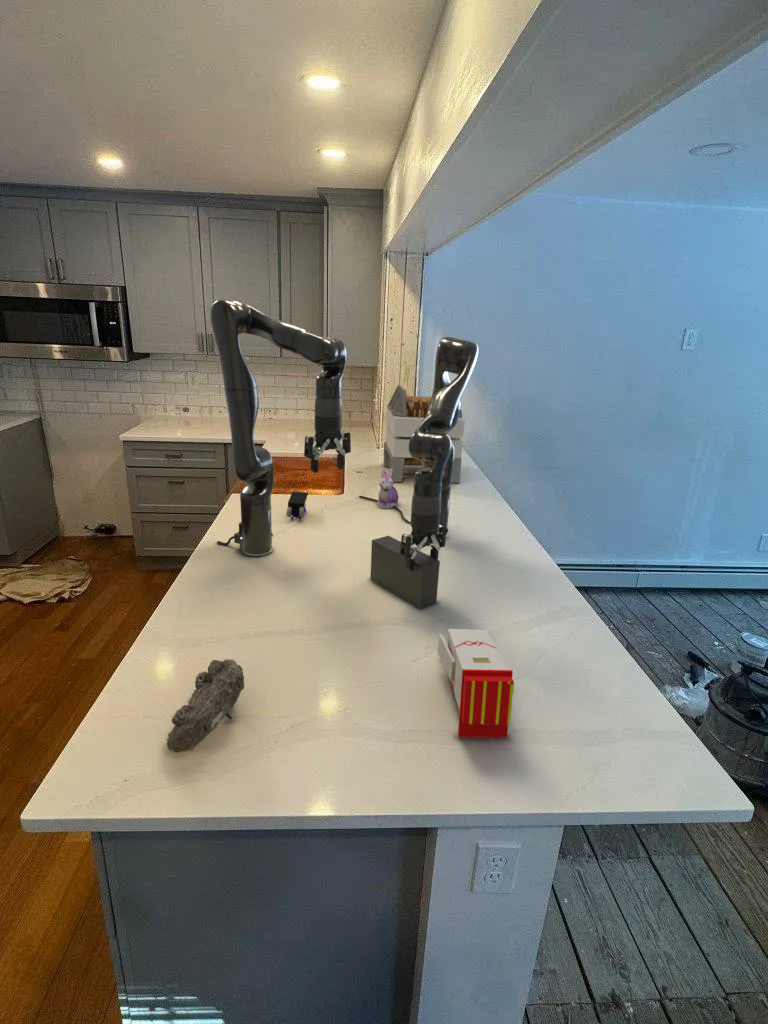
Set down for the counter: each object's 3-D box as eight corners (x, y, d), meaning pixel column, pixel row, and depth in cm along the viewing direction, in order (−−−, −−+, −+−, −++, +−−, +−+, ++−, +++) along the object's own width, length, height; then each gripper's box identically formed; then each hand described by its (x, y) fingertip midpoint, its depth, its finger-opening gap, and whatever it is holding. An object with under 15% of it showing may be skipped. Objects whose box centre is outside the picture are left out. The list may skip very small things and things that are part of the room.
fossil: (192, 660, 117) (244, 628, 112) (224, 691, 120) (276, 661, 115) (142, 746, 98) (202, 712, 93) (182, 779, 101) (242, 748, 96)
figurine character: (304, 526, 206) (308, 508, 220) (304, 507, 203) (308, 490, 216) (286, 525, 206) (291, 507, 219) (285, 507, 203) (290, 489, 216)
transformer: (382, 463, 289) (386, 382, 275) (445, 464, 293) (451, 384, 279) (390, 482, 257) (394, 392, 243) (460, 483, 261) (468, 394, 247)
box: (436, 602, 154) (440, 560, 150) (419, 609, 150) (423, 566, 146) (386, 573, 169) (388, 535, 165) (370, 579, 166) (371, 540, 161)
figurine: (383, 510, 222) (384, 473, 217) (371, 502, 230) (372, 466, 225) (404, 507, 226) (406, 471, 221) (391, 499, 234) (393, 464, 229)
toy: (488, 613, 130) (523, 677, 101) (484, 667, 133) (517, 744, 104) (435, 612, 130) (455, 676, 101) (432, 666, 133) (451, 743, 103)
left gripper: (341, 409, 163) (340, 463, 169) (298, 413, 154) (299, 470, 160) (357, 413, 158) (355, 469, 163) (313, 417, 149) (313, 476, 155)
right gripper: (435, 500, 153) (431, 555, 158) (395, 510, 144) (392, 568, 150) (455, 508, 148) (450, 565, 153) (415, 518, 139) (411, 578, 144)
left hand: (327, 470), depth 162 cm, fingers open, 8 cm apart
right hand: (421, 566), depth 151 cm, fingers open, 8 cm apart
